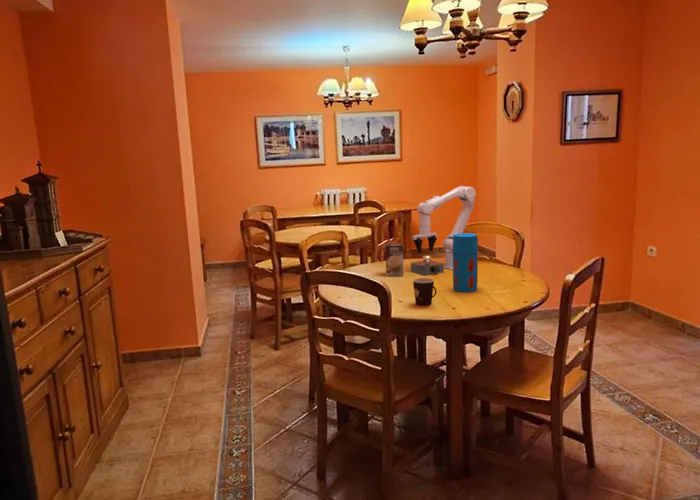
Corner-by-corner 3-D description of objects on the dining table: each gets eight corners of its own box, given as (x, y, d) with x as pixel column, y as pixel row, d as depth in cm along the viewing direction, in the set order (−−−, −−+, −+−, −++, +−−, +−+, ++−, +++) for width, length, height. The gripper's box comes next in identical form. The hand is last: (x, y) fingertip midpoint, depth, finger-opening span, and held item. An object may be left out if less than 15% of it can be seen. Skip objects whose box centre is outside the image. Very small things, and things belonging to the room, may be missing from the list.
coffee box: (385, 276, 263) (384, 245, 260) (386, 273, 269) (385, 243, 266) (403, 276, 262) (403, 245, 259) (403, 273, 268) (403, 243, 265)
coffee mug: (411, 301, 218) (410, 278, 216) (431, 300, 218) (431, 277, 216) (417, 309, 206) (416, 285, 204) (438, 308, 207) (438, 284, 205)
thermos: (478, 287, 236) (478, 233, 232) (476, 293, 226) (476, 237, 222) (454, 286, 240) (454, 232, 235) (451, 292, 230) (451, 236, 225)
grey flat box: (429, 268, 277) (429, 259, 277) (446, 273, 265) (446, 264, 265) (411, 271, 272) (410, 262, 271) (427, 276, 260) (427, 267, 259)
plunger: (427, 269, 272) (427, 255, 271) (432, 270, 268) (432, 256, 267) (421, 270, 270) (421, 256, 269) (426, 271, 267) (426, 257, 265)
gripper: (430, 223, 275) (431, 248, 277) (408, 226, 268) (409, 252, 270) (439, 225, 269) (439, 250, 271) (417, 228, 262) (417, 254, 264)
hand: (425, 251), depth 270 cm, fingers open, 7 cm apart
